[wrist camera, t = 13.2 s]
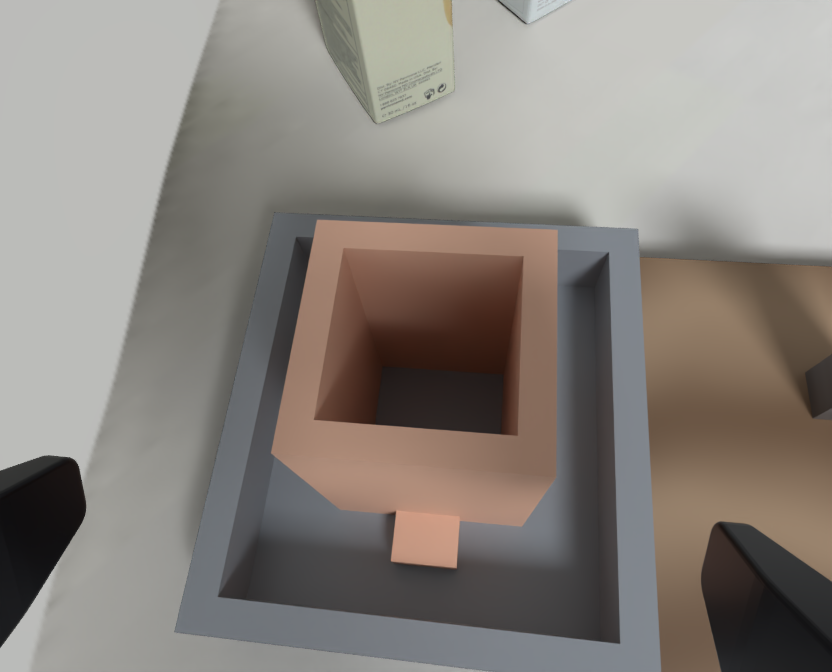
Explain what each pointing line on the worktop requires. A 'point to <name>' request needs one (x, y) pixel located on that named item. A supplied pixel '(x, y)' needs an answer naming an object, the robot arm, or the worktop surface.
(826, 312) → the walnut base
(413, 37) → the skincare box
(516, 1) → the supplement box
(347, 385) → the terracotta collar
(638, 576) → the charcoal tray
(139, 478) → the worktop surface
